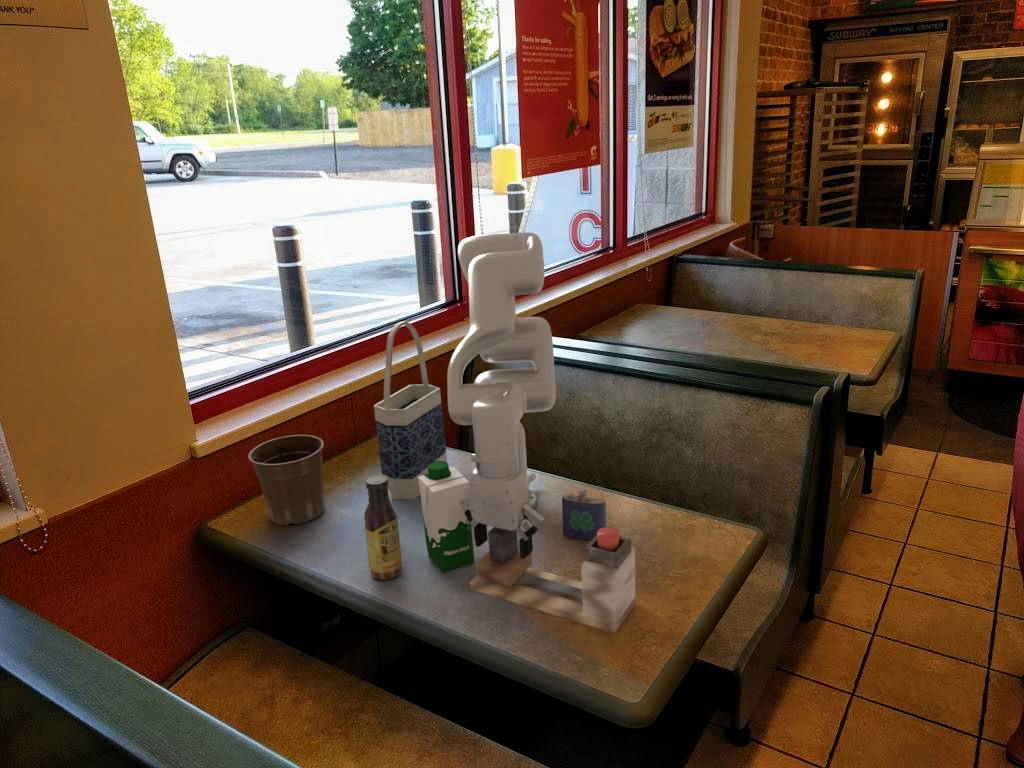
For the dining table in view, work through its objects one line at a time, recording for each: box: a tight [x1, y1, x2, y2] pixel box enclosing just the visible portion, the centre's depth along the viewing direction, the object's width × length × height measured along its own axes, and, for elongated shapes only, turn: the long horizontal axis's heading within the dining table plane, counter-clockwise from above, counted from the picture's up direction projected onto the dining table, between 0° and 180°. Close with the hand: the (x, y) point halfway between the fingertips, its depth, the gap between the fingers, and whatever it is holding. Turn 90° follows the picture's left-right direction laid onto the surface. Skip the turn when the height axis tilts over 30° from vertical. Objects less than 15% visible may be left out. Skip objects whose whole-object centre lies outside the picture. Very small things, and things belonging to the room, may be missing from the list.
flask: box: [561, 489, 607, 543], centre depth 155 cm, size 9×3×11 cm, turn 68°
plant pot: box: [247, 434, 326, 526], centre depth 172 cm, size 16×16×16 cm
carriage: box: [476, 527, 533, 586], centre depth 141 cm, size 7×8×9 cm
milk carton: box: [418, 461, 475, 575], centre depth 148 cm, size 9×9×20 cm
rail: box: [469, 535, 636, 634], centre depth 136 cm, size 29×9×14 cm, turn 59°
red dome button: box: [597, 526, 620, 552], centre depth 128 cm, size 4×4×3 cm
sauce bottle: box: [363, 475, 403, 581], centre depth 146 cm, size 7×6×20 cm
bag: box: [373, 320, 448, 500], centre depth 179 cm, size 18×9×40 cm, turn 153°
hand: (503, 549), depth 141 cm, fingers open, 9 cm apart
